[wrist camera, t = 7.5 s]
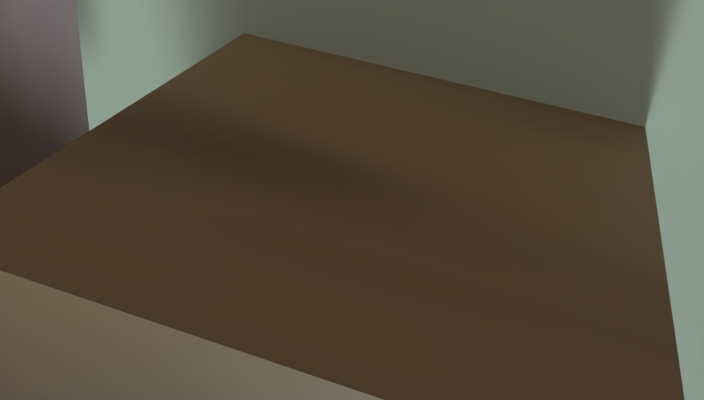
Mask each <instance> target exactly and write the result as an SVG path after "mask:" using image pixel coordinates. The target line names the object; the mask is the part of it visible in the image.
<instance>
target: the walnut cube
mask: <svg viewBox="0 0 704 400" xmlns="http://www.w3.org/2000/svg"><path fill="white" fill-rule="evenodd" d="M0 400H684V393H683V386H682V379H681V372H680V365H679V358H678V351H677V344H676V337H675V330H674V323H673V316H672V309H671V302H670V295H669V288H668V281H667V274H666V267H665V260H664V253H663V247H662V240H661V233H660V226H659V219H658V212H657V205H656V198H655V191H654V184H653V177H652V170H651V163H650V156H649V149H648V142H647V135H646V128H645V127H643V126H639V125H635V124H630V123H626V122H622V121H617V120H613V119H609V118H605V117H600V116H596V115H592V114H588V113H583V112H579V111H575V110H570V109H566V108H562V107H558V106H553V105H549V104H545V103H540V102H536V101H532V100H528V99H523V98H519V97H515V96H510V95H506V94H502V93H498V92H493V91H489V90H485V89H481V88H476V87H472V86H468V85H463V84H459V83H455V82H451V81H446V80H442V79H438V78H433V77H429V76H425V75H421V74H416V73H412V72H408V71H404V70H399V69H395V68H391V67H386V66H382V65H378V64H374V63H369V62H365V61H361V60H356V59H352V58H348V57H344V56H339V55H335V54H331V53H327V52H322V51H318V50H314V49H309V48H305V47H301V46H297V45H292V44H288V43H284V42H279V41H275V40H271V39H267V38H262V37H258V36H254V35H249V34H245V33H243V34H242V35H240V36H239V37H237V38H235V39H234V40H232V41H231V42H229V43H228V44H226V45H224V46H223V47H221V48H220V49H218V50H216V51H215V52H213V53H212V54H210V55H209V56H207V57H205V58H204V59H202V60H201V61H199V62H198V63H196V64H194V65H193V66H191V67H190V68H188V69H186V70H185V71H183V72H182V73H180V74H179V75H177V76H175V77H174V78H172V79H171V80H169V81H168V82H166V83H164V84H163V85H161V86H160V87H158V88H156V89H155V90H153V91H152V92H150V93H149V94H147V95H145V96H144V97H142V98H141V99H139V100H138V101H136V102H134V103H133V104H131V105H130V106H128V107H126V108H125V109H123V110H122V111H120V112H119V113H117V114H115V115H114V116H112V117H111V118H109V119H108V120H106V121H104V122H103V123H101V124H100V125H98V126H96V127H95V128H93V129H92V130H90V131H89V132H87V133H85V134H84V135H82V136H81V137H79V138H77V139H76V140H74V141H73V142H71V143H70V144H68V145H66V146H65V147H63V148H62V149H60V150H59V151H57V152H55V153H54V154H52V155H51V156H49V157H47V158H46V159H44V160H43V161H41V162H40V163H38V164H36V165H35V166H33V167H32V168H30V169H29V170H27V171H25V172H24V173H22V174H21V175H19V176H17V177H16V178H14V179H13V180H11V181H10V182H8V183H6V184H5V185H3V186H2V187H0Z"/></svg>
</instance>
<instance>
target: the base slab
mask: <svg viewBox="0 0 704 400" xmlns="http://www.w3.org/2000/svg"><path fill="white" fill-rule="evenodd" d="M76 9H77V18H78V28H79V37H80V47H81V56H82V65H83V75H84V84H85V94H86V103H87V113H88V122H89V131H90V130H92V129H93V128H95V127H96V126H98V125H100V124H101V123H103V122H104V121H106V120H108V119H109V118H111V117H112V116H114V115H115V114H117V113H119V112H120V111H122V110H123V109H125V108H126V107H128V106H130V105H131V104H133V103H134V102H136V101H138V100H139V99H141V98H142V97H144V96H145V95H147V94H149V93H150V92H152V91H153V90H155V89H156V88H158V87H160V86H161V85H163V84H164V83H166V82H168V81H169V80H171V79H172V78H174V77H175V76H177V75H179V74H180V73H182V72H183V71H185V70H186V69H188V68H190V67H191V66H193V65H194V64H196V63H198V62H199V61H201V60H202V59H204V58H205V57H207V56H209V55H210V54H212V53H213V52H215V51H216V50H218V49H220V48H221V47H223V46H224V45H226V44H228V43H229V42H231V41H232V40H234V39H235V38H237V37H239V36H240V35H242V34H243V33H245V34H249V35H254V36H258V37H262V38H267V39H271V40H275V41H279V42H284V43H288V44H292V45H297V46H301V47H305V48H309V49H314V50H318V51H322V52H327V53H331V54H335V55H339V56H344V57H348V58H352V59H356V60H361V61H365V62H369V63H374V64H378V65H382V66H386V67H391V68H395V69H399V70H404V71H408V72H412V73H416V74H421V75H425V76H429V77H433V78H438V79H442V80H446V81H451V82H455V83H459V84H463V85H468V86H472V87H476V88H481V89H485V90H489V91H493V92H498V93H502V94H506V95H510V96H515V97H519V98H523V99H528V100H532V101H536V102H540V103H545V104H549V105H553V106H558V107H562V108H566V109H570V110H575V111H579V112H583V113H588V114H592V115H596V116H600V117H605V118H609V119H613V120H617V121H622V122H626V123H630V124H635V125H639V126H643V127H645V128H646V135H647V142H648V149H649V156H650V163H651V170H652V177H653V184H654V191H655V198H656V205H657V212H658V219H659V226H660V233H661V240H662V247H663V253H664V260H665V267H666V274H667V281H668V288H669V295H670V302H671V309H672V316H673V323H674V330H675V337H676V344H677V351H678V358H679V365H680V372H681V379H682V386H683V393H684V400H704V0H76Z"/></svg>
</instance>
